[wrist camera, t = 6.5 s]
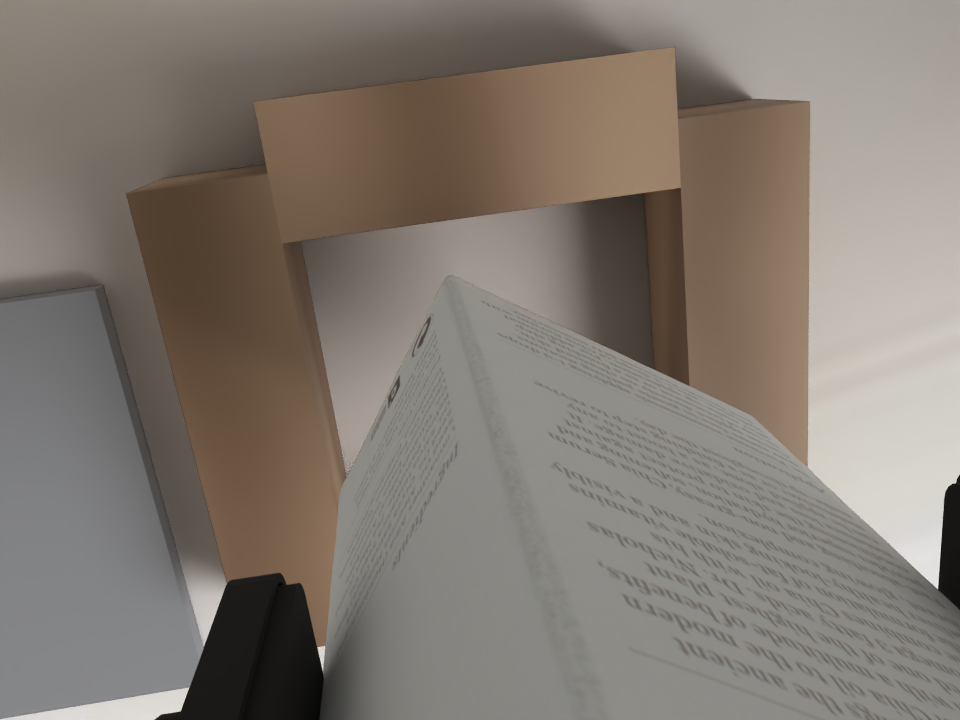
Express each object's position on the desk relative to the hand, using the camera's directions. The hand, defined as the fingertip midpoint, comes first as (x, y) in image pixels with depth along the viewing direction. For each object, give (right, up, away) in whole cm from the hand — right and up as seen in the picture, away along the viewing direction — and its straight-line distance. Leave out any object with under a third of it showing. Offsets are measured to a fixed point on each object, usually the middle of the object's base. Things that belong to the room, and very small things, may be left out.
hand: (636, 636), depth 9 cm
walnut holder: (-2, +3, +10) cm, 10 cm away
